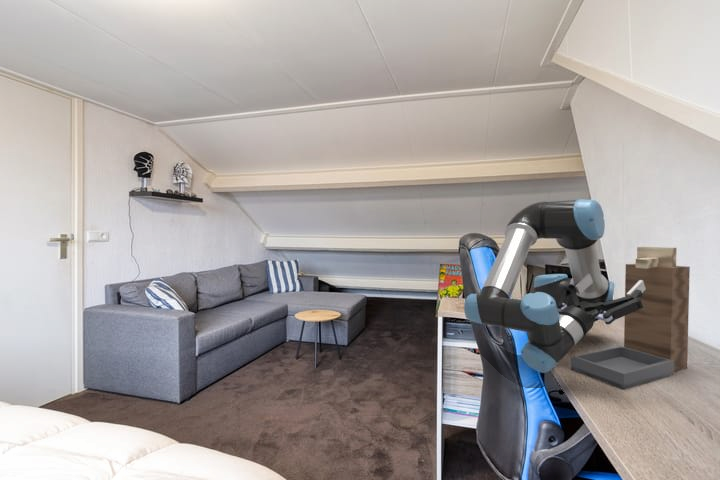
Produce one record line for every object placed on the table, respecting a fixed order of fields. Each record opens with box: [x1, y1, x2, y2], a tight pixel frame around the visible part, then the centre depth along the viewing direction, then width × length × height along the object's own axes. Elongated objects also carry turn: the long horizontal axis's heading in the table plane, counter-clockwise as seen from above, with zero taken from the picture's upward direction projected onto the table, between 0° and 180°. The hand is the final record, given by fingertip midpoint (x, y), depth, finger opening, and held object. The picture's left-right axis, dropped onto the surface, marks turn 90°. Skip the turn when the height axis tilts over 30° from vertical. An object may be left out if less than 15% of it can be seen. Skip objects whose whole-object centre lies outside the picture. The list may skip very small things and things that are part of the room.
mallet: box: [635, 246, 677, 269], centre depth 101 cm, size 16×8×6 cm, turn 125°
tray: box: [570, 345, 675, 391], centre depth 99 cm, size 23×14×4 cm, turn 114°
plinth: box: [623, 263, 691, 373], centre depth 105 cm, size 9×12×30 cm
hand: (614, 281), depth 97 cm, fingers open, 13 cm apart
